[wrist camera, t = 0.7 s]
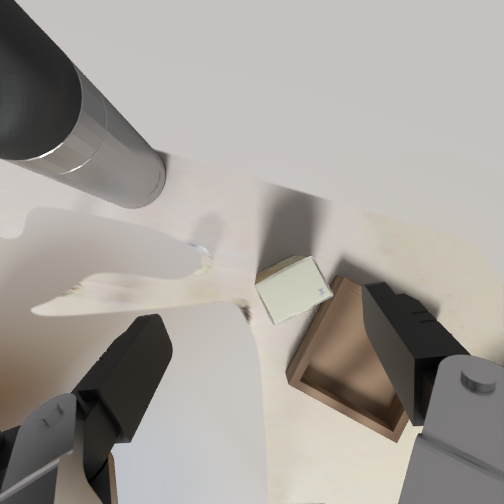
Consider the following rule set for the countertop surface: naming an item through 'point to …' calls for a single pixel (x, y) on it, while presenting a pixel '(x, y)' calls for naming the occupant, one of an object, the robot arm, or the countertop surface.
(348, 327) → the walnut tray
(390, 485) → the countertop surface
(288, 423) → the countertop surface
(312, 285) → the skincare box
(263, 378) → the countertop surface
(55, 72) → the robot arm
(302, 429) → the countertop surface
